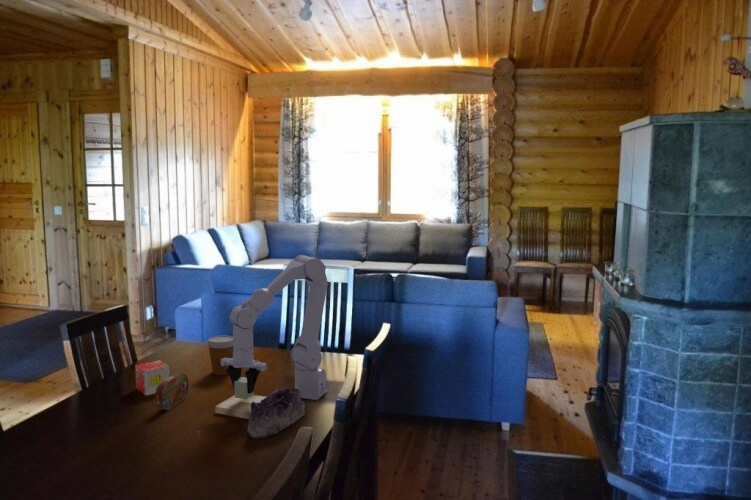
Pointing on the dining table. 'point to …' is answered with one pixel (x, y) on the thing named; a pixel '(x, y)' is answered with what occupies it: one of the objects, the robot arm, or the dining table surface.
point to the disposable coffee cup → (220, 352)
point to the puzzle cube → (151, 376)
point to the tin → (171, 391)
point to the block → (242, 389)
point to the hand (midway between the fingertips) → (244, 391)
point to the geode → (275, 413)
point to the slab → (238, 406)
